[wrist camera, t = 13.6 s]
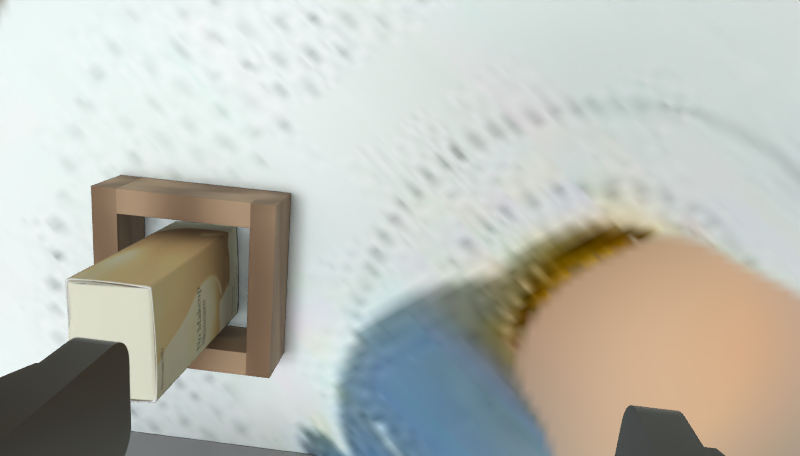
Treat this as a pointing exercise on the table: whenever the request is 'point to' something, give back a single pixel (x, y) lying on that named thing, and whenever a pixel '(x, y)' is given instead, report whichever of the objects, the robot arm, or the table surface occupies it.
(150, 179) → the walnut socket
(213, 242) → the skincare box
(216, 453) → the wood-capped grey panel
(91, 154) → the table surface
